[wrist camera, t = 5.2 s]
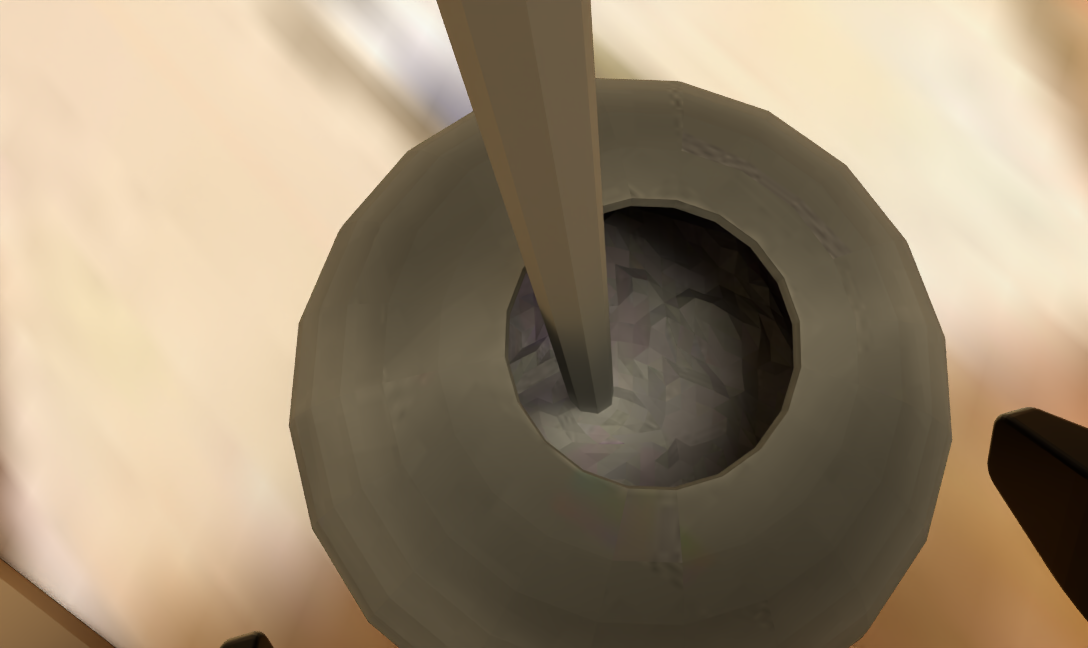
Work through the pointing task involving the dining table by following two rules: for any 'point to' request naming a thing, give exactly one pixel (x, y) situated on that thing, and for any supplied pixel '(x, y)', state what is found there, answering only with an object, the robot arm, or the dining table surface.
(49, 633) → the walnut board
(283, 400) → the dining table surface
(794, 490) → the beverage cup
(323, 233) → the dining table surface
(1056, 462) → the robot arm
